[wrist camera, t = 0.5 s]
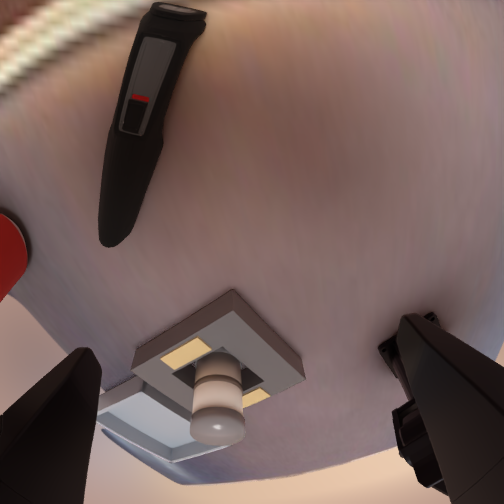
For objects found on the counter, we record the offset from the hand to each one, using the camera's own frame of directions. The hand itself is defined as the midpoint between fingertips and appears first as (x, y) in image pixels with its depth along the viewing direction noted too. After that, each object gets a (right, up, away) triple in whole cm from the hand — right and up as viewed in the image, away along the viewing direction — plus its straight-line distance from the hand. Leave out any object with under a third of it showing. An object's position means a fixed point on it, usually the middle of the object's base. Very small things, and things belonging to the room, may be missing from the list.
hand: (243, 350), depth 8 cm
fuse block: (-3, -7, +19) cm, 20 cm away
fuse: (-3, -7, +19) cm, 20 cm away
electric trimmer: (-6, +11, +10) cm, 16 cm away
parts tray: (-10, -16, +24) cm, 30 cm away
